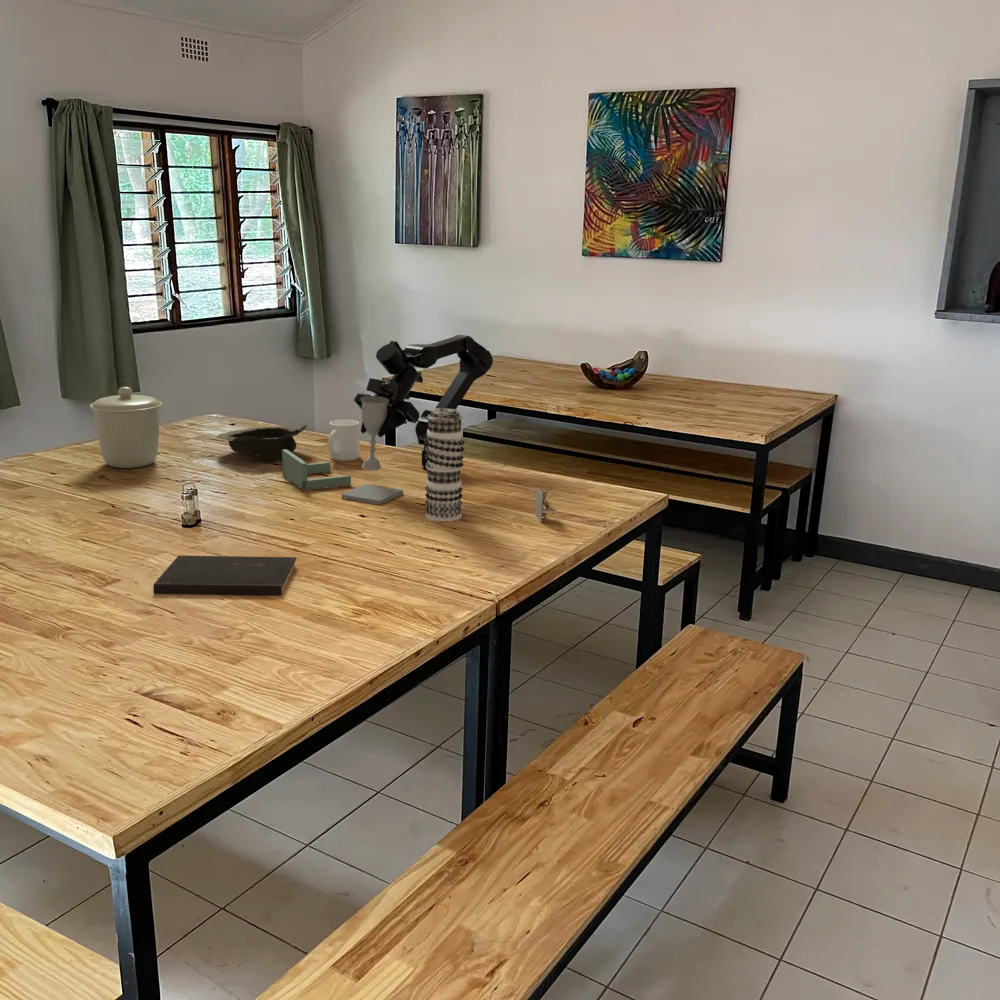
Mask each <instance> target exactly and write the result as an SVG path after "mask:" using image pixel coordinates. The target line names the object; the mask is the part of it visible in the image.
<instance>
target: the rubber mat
mask: <svg viewBox="0 0 1000 1000" xmlns="http://www.w3.org/2000/svg"><path fill="white" fill-rule="evenodd" d="M402 495H404V490H403V489H399V488H394V487H393V488H392V487H386V486H381V485H373V484H366V483H364V484H362V485H360V486H357V487H355V488H353V489H351V490H348V491H346V492H344V493H341V496H340V497H341V498H340V499H342V498H346V499H345V500H348V499H350V501H354V500H355V502H360V501H361V503H366V502H368V503H367V504H372V503H375V504H374V505H379V504H381V505H382V503H383V504H384V502H385V503H388V502H389V501H391V500H393V498H394V499H396V498H398V497H400V496H402ZM395 497H396V498H395Z"/></svg>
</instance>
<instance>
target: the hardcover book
mask: <svg viewBox="0 0 1000 1000" xmlns="http://www.w3.org/2000/svg"><path fill="white" fill-rule="evenodd" d="M296 560H297V557H294V556H293V557H292V556H291V557H290V556H239V555H238V556H234V555H231V556H228V555H178V556H177V557H176V558H175V559H174V560H173V561H172V562H171V563H170V564H169V566H168V567H167V568H166V569H165V571H164V572H163V573H162V574H161V575H160V576H159V577H158V579H157V580H156V581H155V582H154V584H153V586H152V587H153V588H152V590H153V594H154V595H199V596H200V595H202V596H204V595H205V596H206V595H207V596H213V595H214V596H261V597H262V596H264V597H265V596H267V597H270V596H274V597H278V596H279V597H282V594H283V593H282V592H283V591H284V589H285V587H286V585H287V583H288V581H289V579H290V577H291V575H292V574H293V571H294V569H295V566H296V564H295V563H296Z"/></svg>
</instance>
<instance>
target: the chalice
mask: <svg viewBox="0 0 1000 1000" xmlns="http://www.w3.org/2000/svg"><path fill="white" fill-rule="evenodd" d="M360 399H361V401H362V409H361V420H362V422H363V423H364V426H365V428H366V430H367V431H366V432H367V434H368V435H370V438H371V439H370V441H369V445H370V447H369V448H368V450H369V452H370V453H369V456H367V457H366V458H364V461H363V462H362V463H363V464H362V465H361V468H362V469H364V470H366V471H379V470H382V466H381V463H380V460H379V458H378V457H376V456H375V452H376V451H377V449H376V447H375V445H376V443H377V441H376V436H378V433H379V430H380V428H381V427H382V425H383V423H384V421H385V419H386V417H387V413H388V411H387V404H388V403H389V401H390V400H389V399H387V398H385V397H380V396H374V395H371V396H364V397H361V398H360Z"/></svg>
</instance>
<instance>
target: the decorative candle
mask: <svg viewBox="0 0 1000 1000" xmlns="http://www.w3.org/2000/svg"><path fill="white" fill-rule="evenodd" d="M434 409H435V408H434ZM434 409H432V410H433V411H432V410H431V411H432V412H431V414H430V415H428V416H427V417H428V429H427V433H425V434H426V435H424V436H425V437H426V438H425V440H424V442H425V444H426V445H427V446H426V448H425V451H426V455H425V458H426V460H428V461H427V462H426V464H425V465H426V468H427V469H426V470H427V478H426V486H425V488H424V489H425V491H426V493H425V494H424V496H425V498H426V500H425V501H424V504H425V508H424V510H425V512H426V513H425V515H424V516H425V519H428V520H430V521H433V520H434V521H433V522H440V521H443V522H442V523H444V521H448V522H454V520H455V521H458V520H460V519H462V517H463V515H462V511H463V508H462V505H463V502H462V498H463V494H462V492H463V487H462V479H461V475H462V473H461V471H462V470H463V467H464V463H463V462H462V460H464V459H465V458H464V456H463V455H462V454H461V453H462V452H464V451H465V450H466V449H465V447H463V445H464V444H465V440H463V439H461V438H462V437H463V430H462V419H463V418H464V416H462V415H460V412H459V411H458V410H457V409H456V410H454V409H449V408H440V409H435V410H434ZM428 440H429V442H428ZM459 518H460V519H459ZM457 519H458V520H457Z"/></svg>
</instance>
